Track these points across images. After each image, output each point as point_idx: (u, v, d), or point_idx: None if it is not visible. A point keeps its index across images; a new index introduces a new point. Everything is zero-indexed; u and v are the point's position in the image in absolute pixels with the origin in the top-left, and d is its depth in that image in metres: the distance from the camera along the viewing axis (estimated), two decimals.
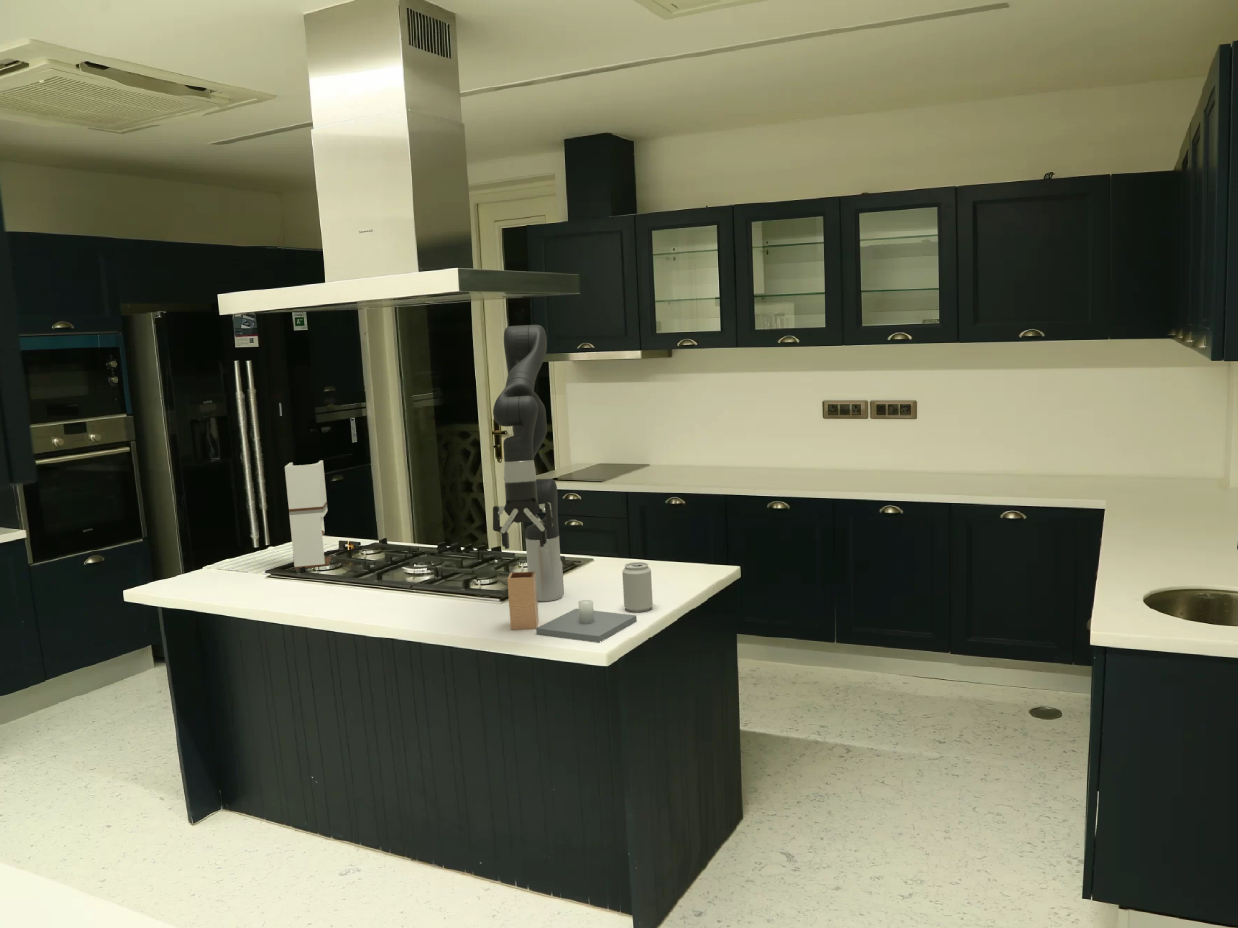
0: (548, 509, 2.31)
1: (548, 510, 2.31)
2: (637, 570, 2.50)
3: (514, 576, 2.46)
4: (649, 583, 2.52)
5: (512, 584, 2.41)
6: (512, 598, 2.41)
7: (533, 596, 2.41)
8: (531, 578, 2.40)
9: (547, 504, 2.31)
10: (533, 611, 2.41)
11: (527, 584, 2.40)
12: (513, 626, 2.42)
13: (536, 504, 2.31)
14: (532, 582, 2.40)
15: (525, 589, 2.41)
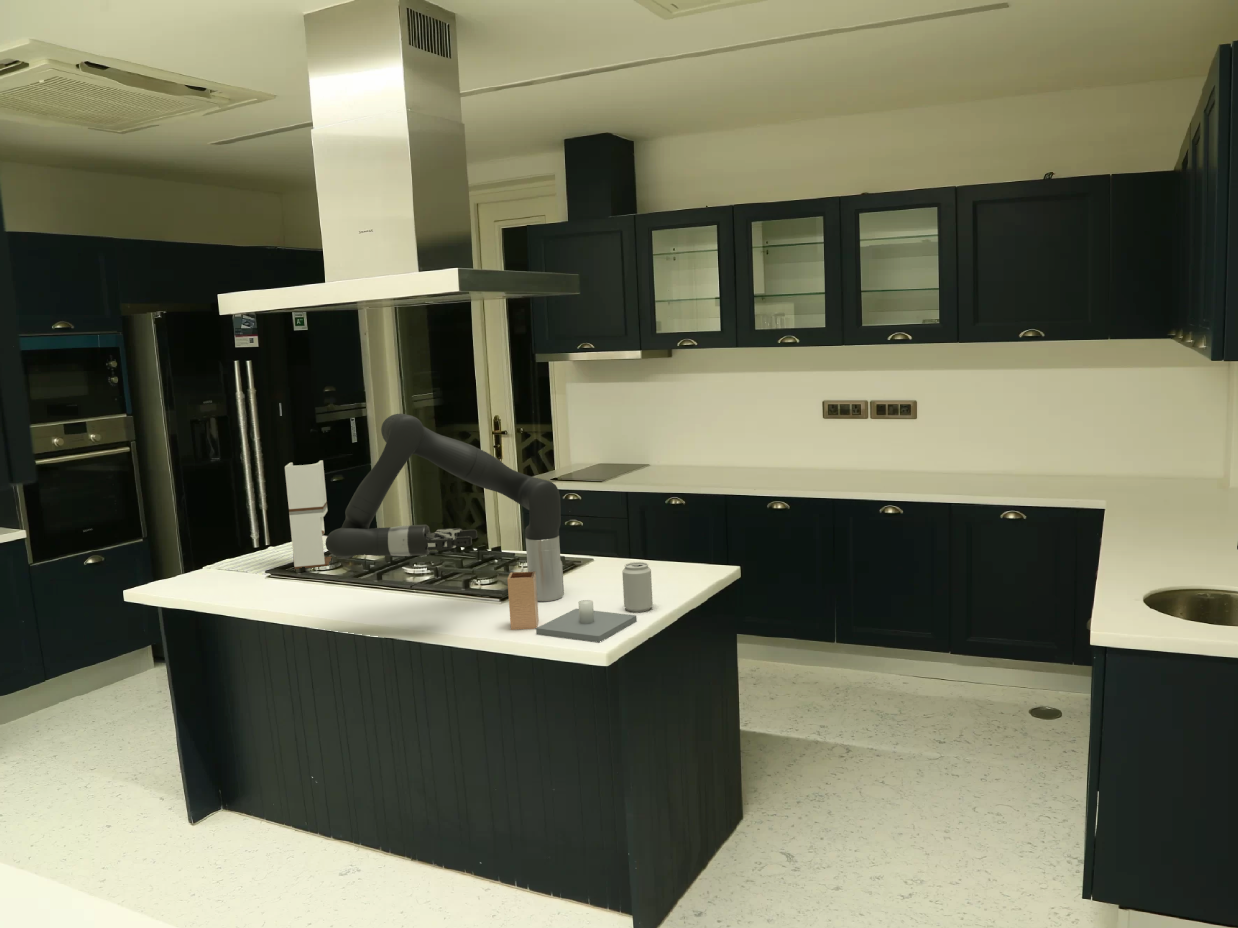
0: None
1: None
2: (637, 570, 2.50)
3: (514, 576, 2.46)
4: (649, 583, 2.52)
5: (512, 584, 2.41)
6: (512, 598, 2.41)
7: (533, 596, 2.41)
8: (531, 578, 2.40)
9: None
10: (533, 611, 2.41)
11: (527, 584, 2.40)
12: (513, 626, 2.42)
13: None
14: (532, 582, 2.40)
15: (525, 589, 2.41)
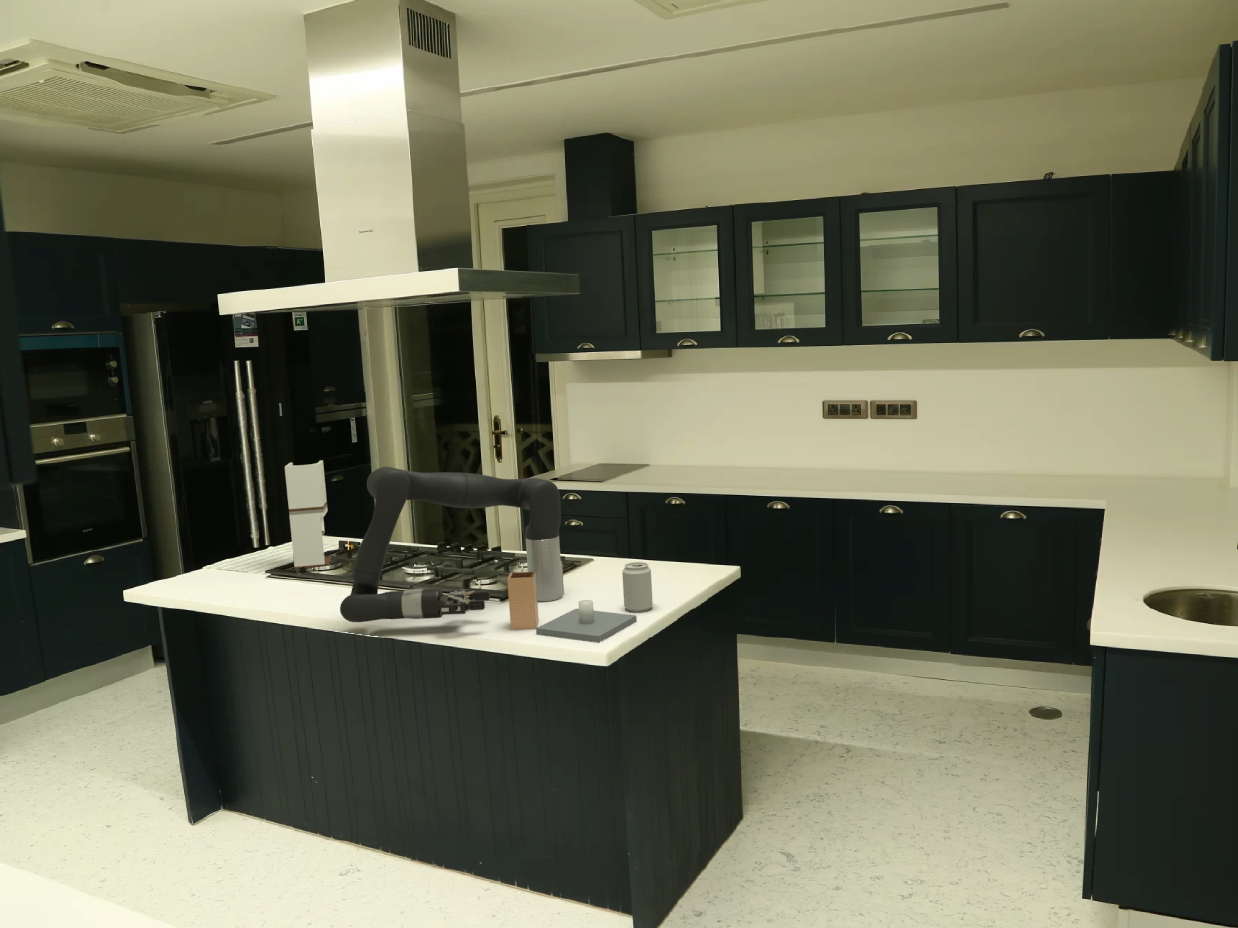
0: None
1: None
2: (637, 570, 2.50)
3: (514, 576, 2.46)
4: (649, 583, 2.52)
5: (512, 584, 2.41)
6: (512, 598, 2.41)
7: (533, 596, 2.41)
8: (531, 578, 2.40)
9: None
10: (533, 611, 2.41)
11: (527, 584, 2.40)
12: (513, 626, 2.42)
13: None
14: (532, 582, 2.40)
15: (525, 589, 2.41)
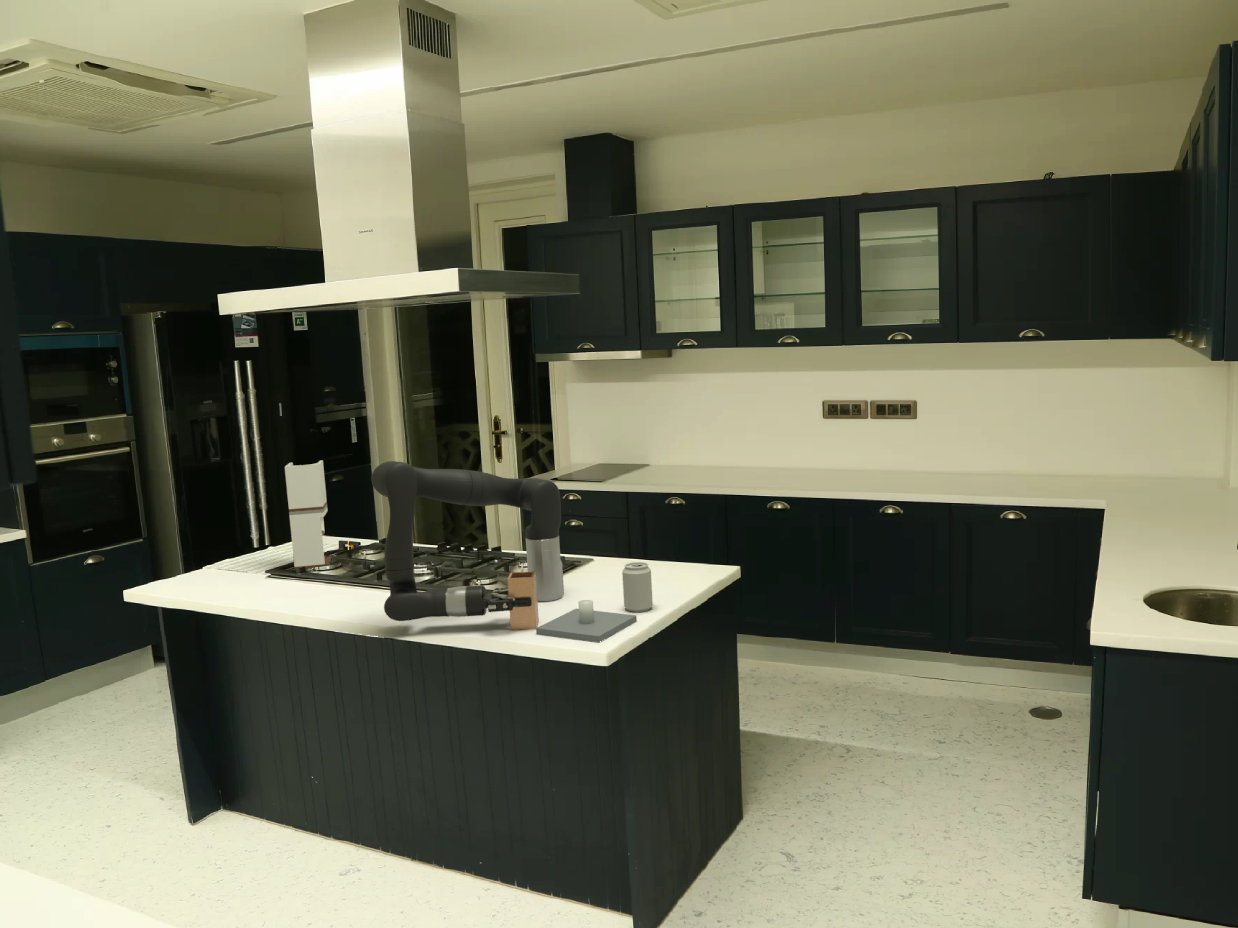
0: None
1: None
2: (637, 570, 2.50)
3: (514, 576, 2.46)
4: (649, 583, 2.52)
5: (512, 584, 2.41)
6: None
7: (533, 596, 2.41)
8: (531, 578, 2.40)
9: (489, 611, 2.38)
10: (533, 611, 2.41)
11: (527, 584, 2.40)
12: (513, 626, 2.42)
13: None
14: (532, 582, 2.40)
15: (525, 589, 2.41)
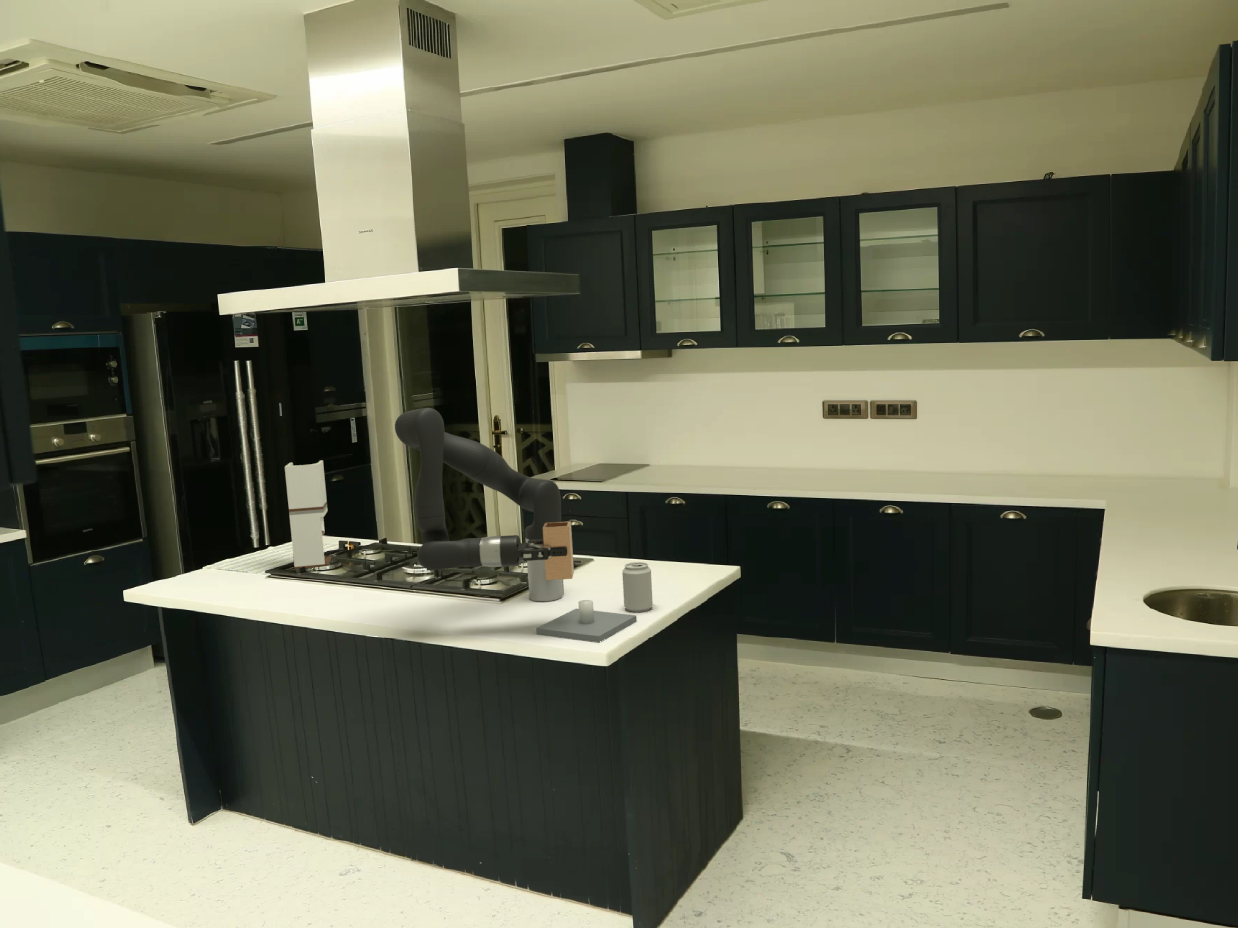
0: None
1: None
2: (637, 570, 2.50)
3: (549, 526, 2.41)
4: (649, 583, 2.52)
5: (547, 533, 2.36)
6: None
7: (569, 545, 2.36)
8: (567, 527, 2.36)
9: (524, 560, 2.34)
10: (569, 561, 2.37)
11: (563, 533, 2.36)
12: (548, 576, 2.37)
13: None
14: (568, 531, 2.36)
15: (561, 538, 2.36)
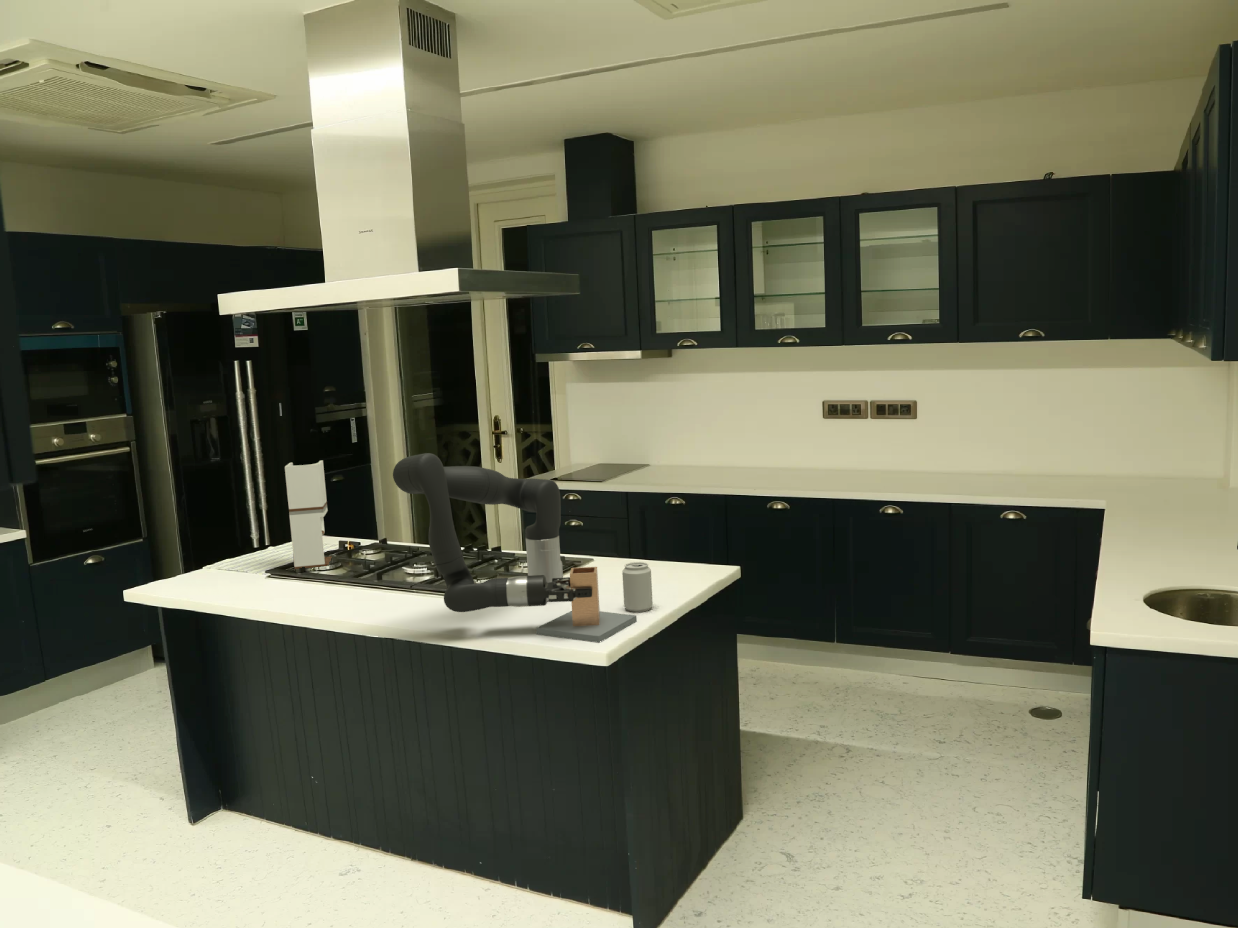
0: None
1: None
2: (637, 570, 2.50)
3: (575, 571, 2.41)
4: (649, 583, 2.52)
5: (574, 579, 2.36)
6: None
7: (596, 592, 2.36)
8: (594, 573, 2.35)
9: (550, 601, 2.33)
10: (596, 607, 2.36)
11: (590, 579, 2.36)
12: (575, 622, 2.37)
13: None
14: (595, 577, 2.35)
15: (588, 585, 2.36)
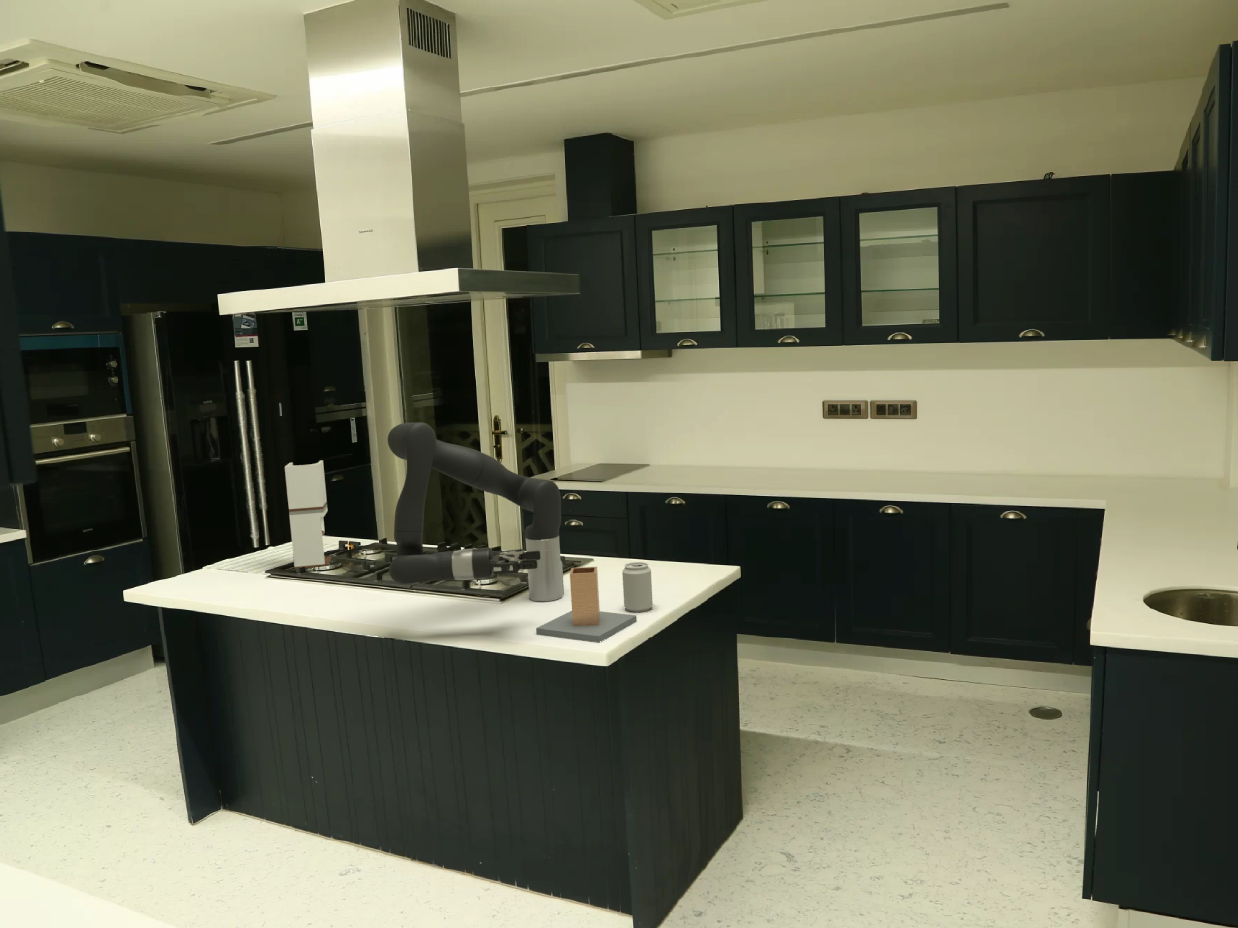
0: None
1: None
2: (637, 570, 2.50)
3: (575, 571, 2.41)
4: (649, 583, 2.52)
5: (574, 579, 2.36)
6: (574, 594, 2.36)
7: (596, 592, 2.36)
8: (594, 573, 2.35)
9: (495, 573, 2.33)
10: (596, 607, 2.36)
11: (590, 579, 2.36)
12: (575, 622, 2.37)
13: None
14: (595, 577, 2.35)
15: (588, 585, 2.36)
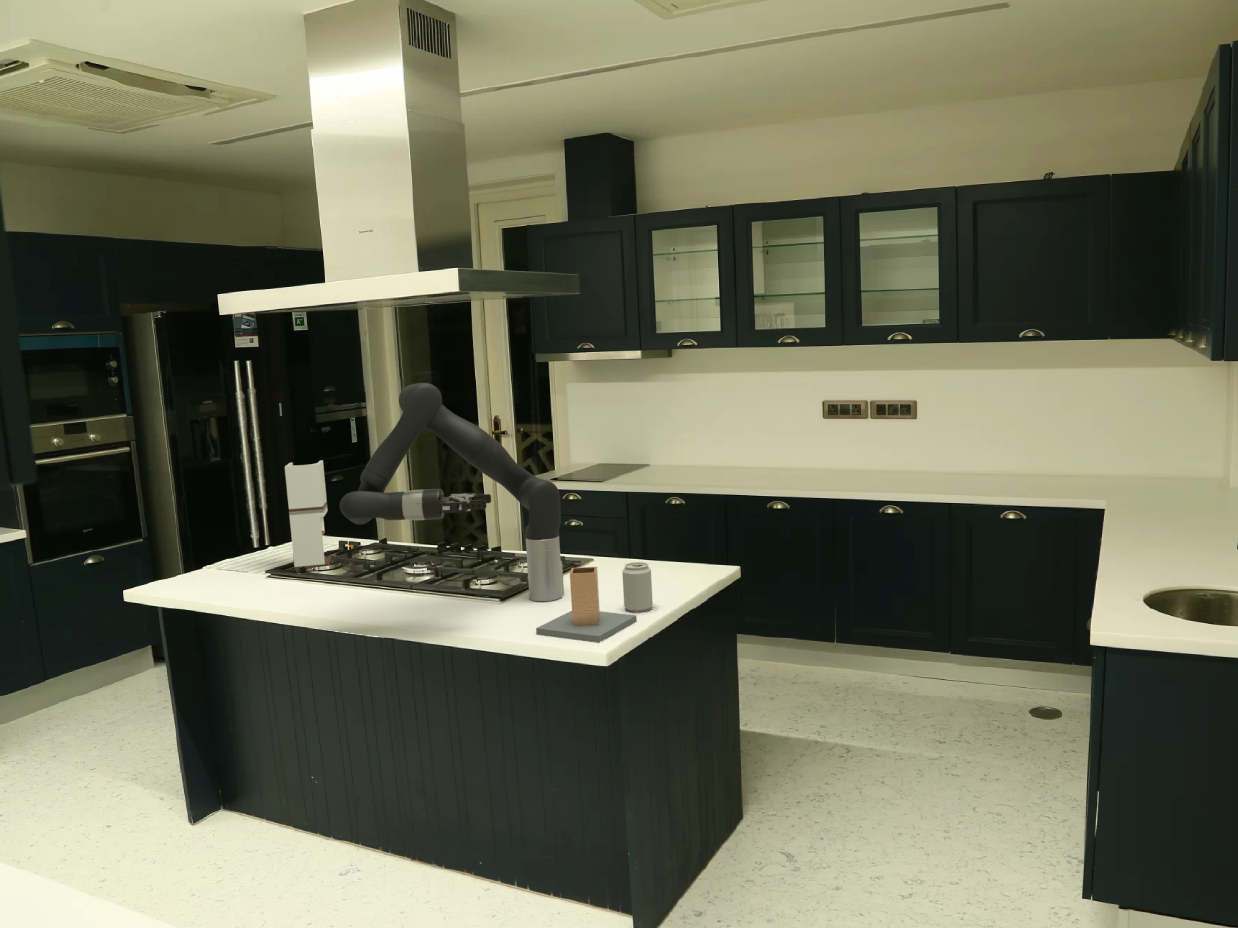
0: (448, 512, 2.35)
1: (449, 512, 2.35)
2: (637, 570, 2.50)
3: (575, 571, 2.41)
4: (649, 583, 2.52)
5: (574, 579, 2.36)
6: (574, 594, 2.36)
7: (596, 592, 2.36)
8: (594, 573, 2.35)
9: (443, 512, 2.36)
10: (596, 607, 2.36)
11: (590, 579, 2.36)
12: (575, 622, 2.37)
13: None
14: (595, 577, 2.35)
15: (588, 585, 2.36)
